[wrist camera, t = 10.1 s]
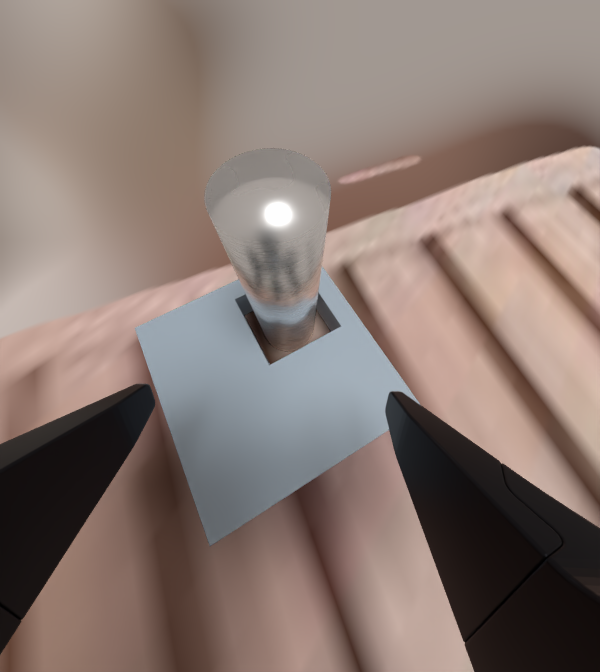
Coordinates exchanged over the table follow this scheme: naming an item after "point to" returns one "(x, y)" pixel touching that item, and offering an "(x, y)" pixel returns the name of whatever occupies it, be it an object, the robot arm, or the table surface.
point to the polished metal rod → (274, 236)
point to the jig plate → (263, 401)
